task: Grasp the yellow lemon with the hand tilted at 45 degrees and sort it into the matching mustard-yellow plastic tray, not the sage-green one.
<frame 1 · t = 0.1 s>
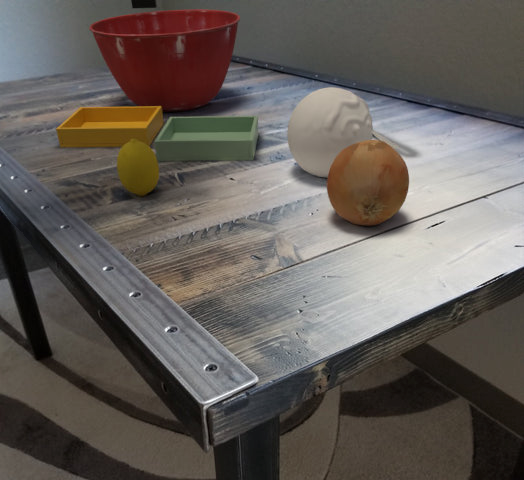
hand: (156, 0, 73), 23 cm above the table, tool pointing down, fingers open, 13 cm apart
yellow tray: (114, 137, 103), on the table
mixing bowl: (174, 105, 119), on the table
green tray: (210, 149, 96), on the table
onion: (364, 223, 73), on the table
fork: (371, 137, 100), on the table
lemon: (142, 198, 81), on the table
decorative ball: (327, 176, 86), on the table
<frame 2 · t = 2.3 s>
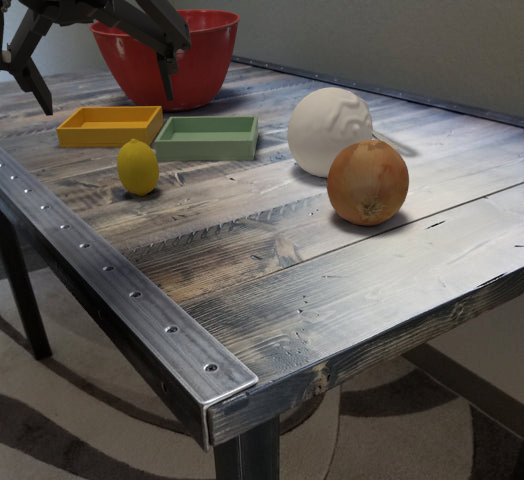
hand: (109, 97, 66), 15 cm above the table, tool tilted 40°, fingers open, 13 cm apart
nothing on the table moved.
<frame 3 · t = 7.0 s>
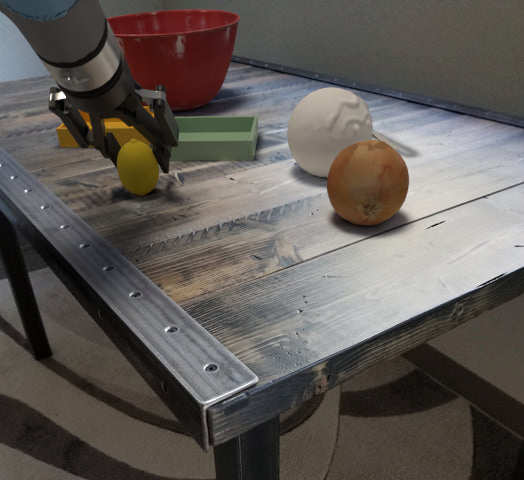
hand: (144, 164, 82), 3 cm above the table, tool tilted 45°, fingers closed on lemon, 5 cm apart
lemon: (142, 198, 81), on the table, touching gripper
everything else where it was.
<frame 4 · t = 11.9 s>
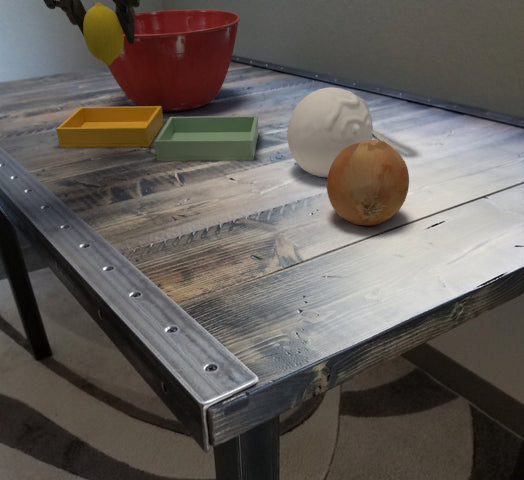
hand: (111, 35, 86), 17 cm above the table, tool tilted 45°, fingers closed on lemon, 5 cm apart
lemon: (109, 66, 86), point 14 cm above the table, touching gripper
everything else where it was.
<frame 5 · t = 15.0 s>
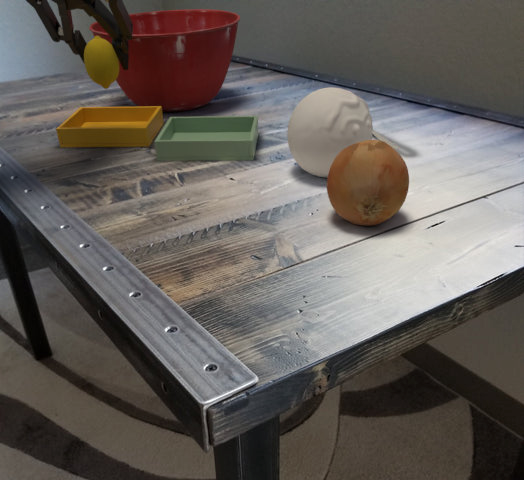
hand: (108, 62, 99), 11 cm above the table, tool tilted 45°, fingers closed on lemon, 5 cm apart
lemon: (106, 90, 98), point 8 cm above the table, touching gripper
everything else where it was.
when the fingers open (4 cm above the table, at t = 17.1 s): lemon stays where it is, resting on yellow tray.
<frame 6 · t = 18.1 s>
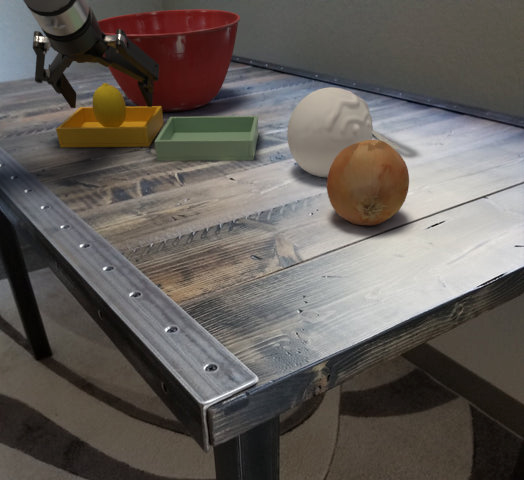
hand: (112, 100, 101), 6 cm above the table, tool tilted 45°, fingers open, 13 cm apart
lemon: (113, 132, 102), point 1 cm above the table, touching yellow tray
everything else where it was.
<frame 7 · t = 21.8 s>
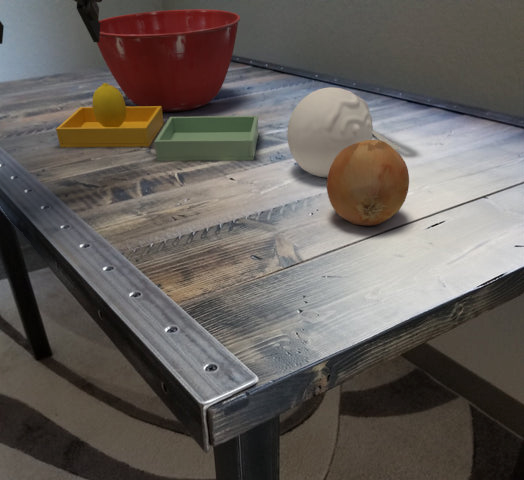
hand: (48, 34, 80), 19 cm above the table, tool tilted 45°, fingers open, 13 cm apart
nothing on the table moved.
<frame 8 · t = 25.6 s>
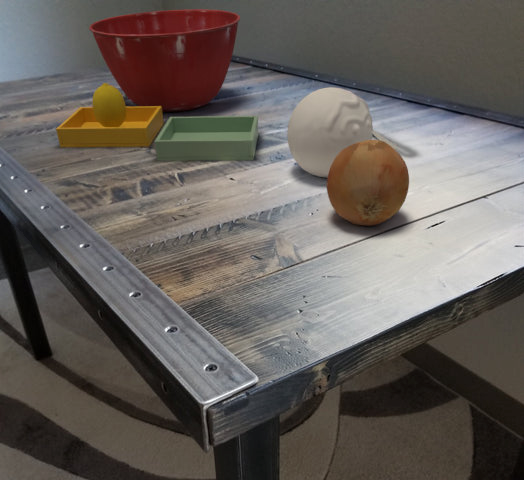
nothing on the table moved.
at the end: lemon inside the target area in the yellow tray (0.0 cm from its centre), point 0.8 cm above the yellow tray's base; lemon touching yellow tray; the gripper is holding nothing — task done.
